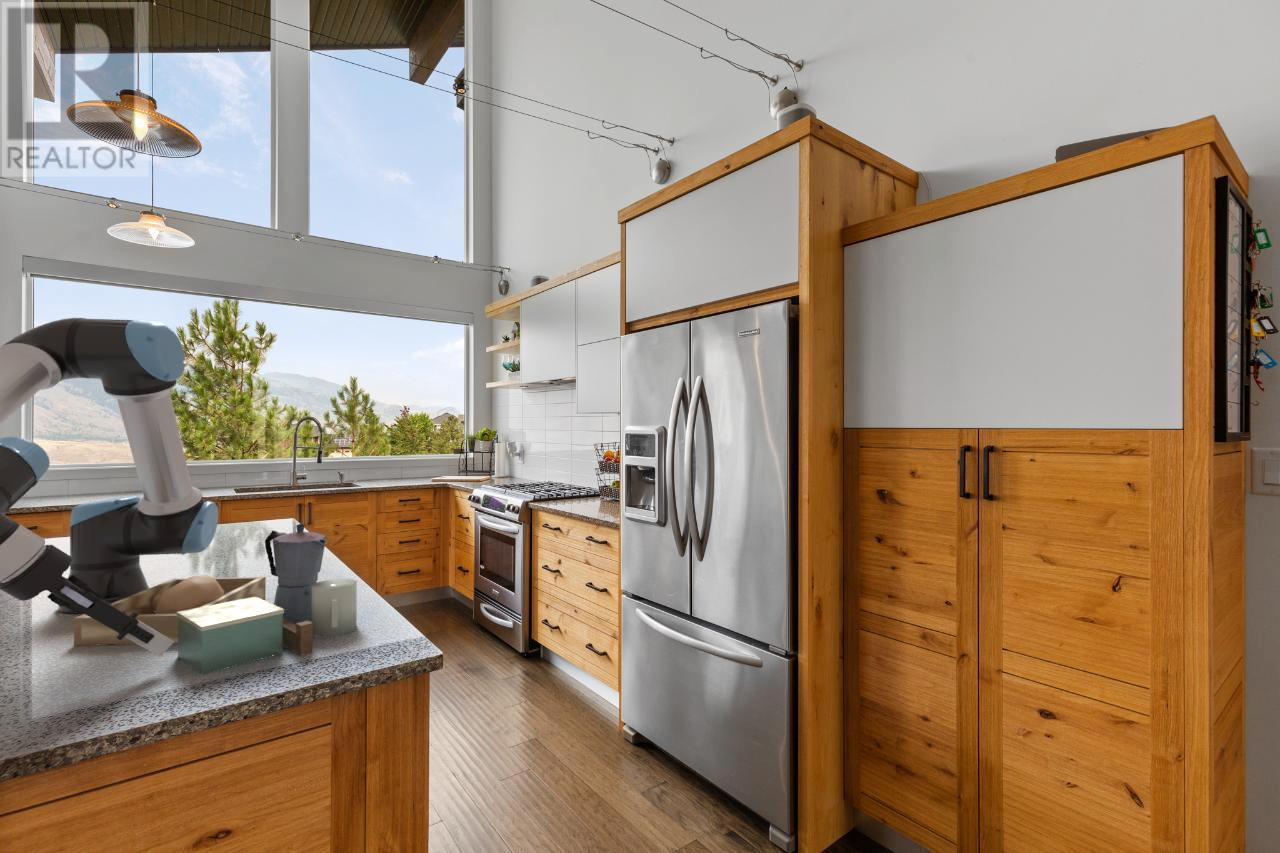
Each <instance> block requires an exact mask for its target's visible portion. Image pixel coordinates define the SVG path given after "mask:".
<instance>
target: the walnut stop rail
mask: <svg viewBox="0 0 1280 853" xmlns="http://www.w3.org/2000/svg"><path fill="white" fill-rule="evenodd" d="M313 642H314V635H313V623H312V622H310V621H304V622H300V623H296V624H294V623H292V622H290V621H288V620H285V619H283V633H282V647H284V648H286V649H288V650H290V651H292V653H293V652H294V653H295V654H297V655H299V656H305V655H308V654H312V653H313V651H314V646H313V645H314V643H313ZM311 652H312V653H311ZM307 653H308V654H307Z"/></svg>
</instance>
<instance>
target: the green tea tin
mask: <svg viewBox="0 0 1280 853" xmlns="http://www.w3.org/2000/svg"><path fill="white" fill-rule="evenodd" d="M283 613H284V609H283V608H280V607H278V606H276V605H274V603H271V602H269V601H267V600H265V599H264V600H262V599H260V598H258V597H251V598H246V599H241V600H236V601H231V602H225V603H220V604H215V605H210V606H205V607H200V608H195V609H189V610H184V611H179V612H177V616H178V643H177V658H179V659H180V660H181V661H182V662H184V663H185V664H186V665H187V666H188V667H191V668H192V669H193V670H195V671H196V672H197V673H198V674H200V675H201V674H202V675H201V676H204V675H208V674H210V673H211V672H212V673H214V671H215V672H218V671H217V670H219V671H222V670H221V669H223V670H225V669H224V668H227V667H230V668H233V667H232V666H234V667H236V666H235V665H238V666H241V665H244V664H243V663H245V664H248V663H247V662H249V663H251V662H250V661H253V660H256V661H258V660H257V659H260V660H262V659H261V658H264V659H266V658H265V657H267V658H270V657H269V656H271V657H273V656H272V655H275V656H278V655H277V654H279V655H282V654H283V646H282V633H283ZM281 653H282V654H281ZM253 662H254V661H253ZM240 664H241V665H240ZM227 669H228V668H227Z"/></svg>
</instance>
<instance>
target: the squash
mask: <svg viewBox="0 0 1280 853" xmlns="http://www.w3.org/2000/svg"><path fill="white" fill-rule="evenodd" d="M215 578H216V577H213V576H210V575H208V574H204V575H195V576H194V575H193V576H190V577H187V579H185V580H183V581H182V582H180V583H179V584H177V585H175V586H173V587H171V588H170V589H168V590H166V591H164V592H161V593H159V594H157V595H155V597H154V598H153V601H152V605H151V607H152V608H153V609H154V610H155V612H154V614H177V612H179V611H184V610H189V609H195V608H199V607H201V606H203V605H205V604H207V603H209V602H211V601H213V600H215V599H218V598H220V597H221V596H223V595H224V590H223V589H222V588H221V586H220V585H219V583H218V582H217V581H216V579H215Z"/></svg>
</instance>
